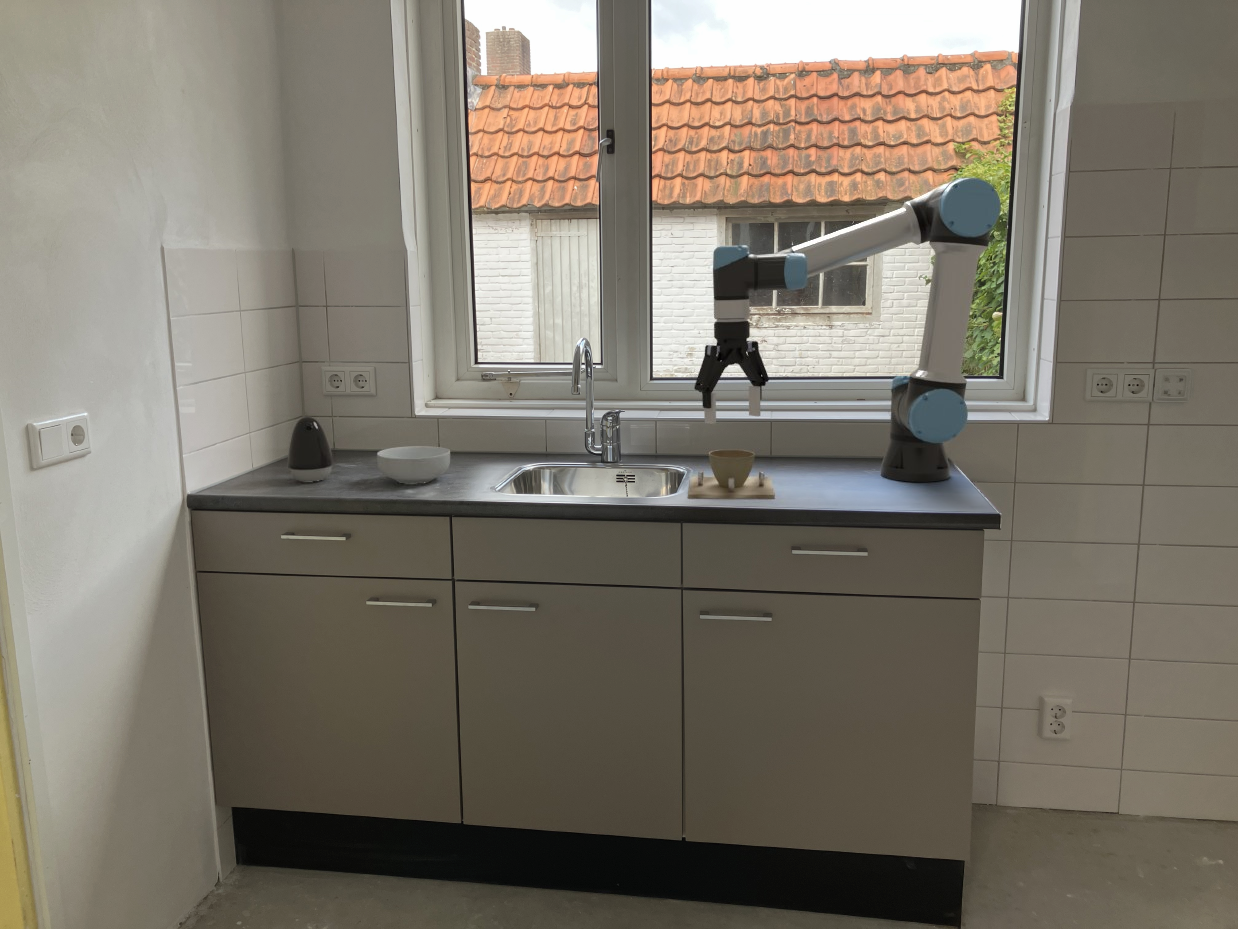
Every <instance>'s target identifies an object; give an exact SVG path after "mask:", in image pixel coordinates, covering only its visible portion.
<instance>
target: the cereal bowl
mask: <svg viewBox="0 0 1238 929" xmlns="http://www.w3.org/2000/svg"><path fill="white" fill-rule="evenodd" d="M376 460H377V461H376V463H377V466H378V469H379V471H380V472H381V473H382V474H383V475H384V476H386V477H388V478H389V479H392V480H394V481H396V482H397V483H398V482H399V483H398V484H401V483H423V484H425V483H424V482H428V483H430V482H429V481H431V480H432V481H433V479H435V478H438V477H440V476H442V475H443V474H445V472H446V471H447V470H448V468H449V466H450V463H451V450H450V449H448V448H445V447H439V446H426V445H425V446H423V445H420V446H419V445H417V446H412V445H411V446H399V447H397V446H396V447H390V448H386V449H382V450H380V451H377V453H376ZM432 481H431V482H432Z"/></svg>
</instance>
